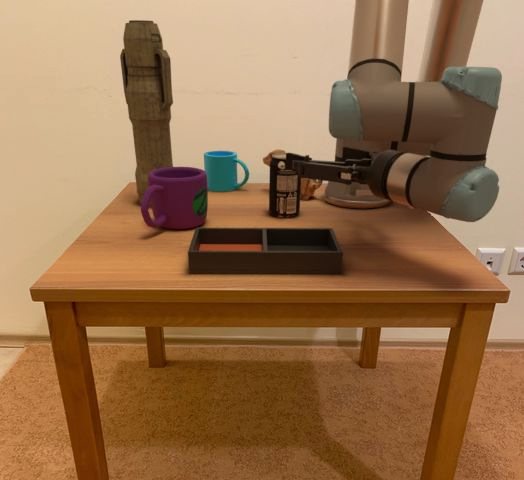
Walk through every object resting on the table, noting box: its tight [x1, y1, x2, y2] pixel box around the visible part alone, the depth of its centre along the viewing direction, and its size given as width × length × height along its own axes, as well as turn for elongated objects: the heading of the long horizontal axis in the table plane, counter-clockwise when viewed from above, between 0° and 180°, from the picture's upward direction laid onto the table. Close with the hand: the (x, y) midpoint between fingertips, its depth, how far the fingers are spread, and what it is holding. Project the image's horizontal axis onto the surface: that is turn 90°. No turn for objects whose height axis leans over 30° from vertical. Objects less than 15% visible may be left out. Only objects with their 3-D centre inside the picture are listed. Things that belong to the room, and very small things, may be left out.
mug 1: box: [140, 166, 209, 230], centre depth 99 cm, size 17×11×10 cm, turn 154°
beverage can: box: [268, 152, 301, 218], centre depth 107 cm, size 7×7×12 cm
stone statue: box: [119, 19, 174, 208], centre depth 108 cm, size 9×12×35 cm
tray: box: [187, 226, 344, 275], centre depth 85 cm, size 12×24×4 cm, turn 91°
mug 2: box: [203, 150, 250, 192], centre depth 127 cm, size 12×8×8 cm
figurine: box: [262, 149, 323, 201], centre depth 121 cm, size 7×16×10 cm, turn 58°
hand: (316, 157), depth 96 cm, fingers open, 13 cm apart
